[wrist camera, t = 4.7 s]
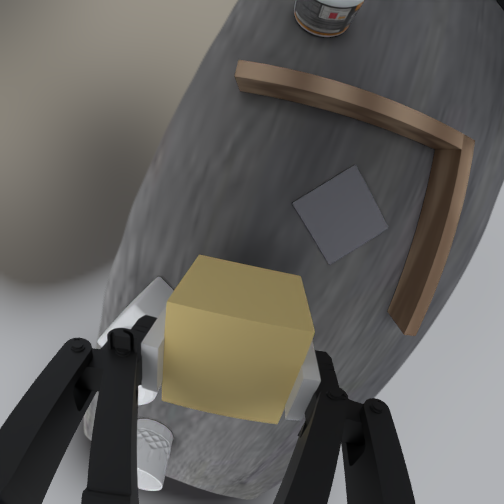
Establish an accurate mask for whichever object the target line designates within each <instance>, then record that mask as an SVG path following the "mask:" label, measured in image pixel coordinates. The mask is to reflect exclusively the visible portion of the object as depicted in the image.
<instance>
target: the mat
mask: <svg viewBox="0 0 504 504" xmlns="http://www.w3.org/2000/svg"><path fill="white" fill-rule="evenodd" d="M292 204H293V206H294V207H295V209H296V211H297V212H298V214H299V215H300V217H301V219H302V220H303V222H304V223H305V225H306V227H307V228H308V230H309V232H310V233H311V235H312V237H313V238H314V240H315V242H316V243H317V245H318V247H319V248H320V250H321V252H322V254H323V255H324V257H325V259H326V260H327V262H328V264H329V265H330V264H332V263H334V262H335V261H337V260H339V259H340V258H342V257H344V256H345V255H347V254H348V253H350V252H352V251H353V250H355V249H357V248H358V247H360V246H361V245H363V244H365V243H366V242H368V241H369V240H371V239H372V238H374V237H376V236H377V235H379V234H380V233H382V232H383V231H385V230H387V229H388V226H387V224H386V222H385V219H384V217H383V215H382V213H381V211H380V209H379V207H378V205H377V203H376V201H375V199H374V197H373V196H372V194H371V192H370V190H369V188H368V186H367V184H366V182H365V180H364V179H363V177H362V175H361V173H360V171H359V170H358V168H357V166H356V165H353V166H352V167H350V168H349V169H347V170H345V171H344V172H342V173H340V174H339V175H337V176H335V177H334V178H332V179H330V180H329V181H327V182H325V183H324V184H322V185H320V186H319V187H317V188H316V189H314V190H312V191H311V192H309V193H307V194H306V195H304V196H302V197H301V198H299V199H298V200H296V201H294V202H293V203H292Z"/></svg>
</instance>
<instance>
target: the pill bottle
mask: <svg viewBox="0 0 504 504" xmlns="http://www.w3.org/2000/svg"><path fill="white" fill-rule="evenodd" d="M364 1H365V0H295V6H294V15H295V18H296V20H297V22H298V23H299V25H300V26H301V27H302V28H303V29H305V30H306V31H308V32H310V33H312V34H314V35H317V36H322V37H333V36H338V35H340V34H342V33H343V32H345V31H346V30H347V28H348V27H349V25H350V24H351V22H352V20H353V19H354V17H355V15H356V14H357V12H358V10H359V8H360V7H361V5H362V4H363V2H364Z"/></svg>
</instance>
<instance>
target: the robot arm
mask: <svg viewBox="0 0 504 504" xmlns="http://www.w3.org/2000/svg"><path fill="white" fill-rule="evenodd" d="M497 1H498V2H499V4H500V5H501V6H502V7H503V9H504V0H497ZM165 317H166V306H165V308H164V309H163V311H162V312H161V314H160V315H159V317H158V318H156V317H152V316H149V315H144V316H142V317H141V318H139V319H138V320H137V321H136V323H135V325H133V327H132V328H131V329H127V328H115V329H112V330H111V331H109V332H108V334H107V341H108V350H101V349H93V348H92V346H91V343H90V342H89V341H87V340H86V339H83V338H73V339H70V340H68V341H67V342H66V343H65V344H64V345H63V346H62V348H61V349H60V350H59V351H58V352H57V354H56V355H55V356H54V357H53V359H52V360H51V361H50V362H49V364H48V365H47V366H46V368H45V369H44V370H43V371H42V373H41V374H40V375H39V376H38V378H37V379H36V380H35V381H34V383H33V384H32V385H31V387H30V388H29V389H28V391H27V392H26V394H25V395H24V396H23V397H22V399H21V400H20V402H19V403H18V405H17V406H16V407H15V408H14V410H13V411H12V413H11V414H10V415H9V417H8V418H7V420H6V421H5V423H4V424H3V426H2V427H1V429H0V504H42V502H43V499H44V497H45V495H46V493H47V490H48V488H49V486H50V484H51V481H52V479H53V477H54V475H55V473H56V470H57V468H58V466H59V464H60V462H61V460H62V458H63V456H64V454H65V452H66V449H67V447H68V445H69V443H70V441H71V439H72V437H73V435H74V433H75V432H76V430H77V428H78V426H79V424H80V422H81V420H82V418H83V416H84V414H85V412H86V410H87V409H88V407H89V405H90V403H91V401H92V399H93V397H94V396H95V394H96V392H97V391H99V396H98V401H97V407H96V413H95V420H94V426H93V434H92V441H91V450H90V459H89V469H88V482H87V488H86V489H85V490H84V491H83V493H82V502H81V504H139V498H138V477H137V415H138V386H139V384H140V382H141V381H142V388H144V389H147V390H150V391H154V392H158V389H159V387H160V385H161V383H162V380H163V357H164V338H165V337H164V332H165ZM304 414H305V418H306V421H305V423H304V425H303V426H302V428H301V430H300V432H299V434H298V436H299V438H298V441H297V444H296V447H295V449H294V452H293V455H292V458H291V460H290V463H289V466H288V468H287V471H286V473H285V476H284V478H283V481H282V483H281V486H280V488H279V491H278V493H277V495H276V498H275V500H274V503H273V504H327V502H328V498H329V495H330V491H331V487H332V482H333V478H334V474H335V470H336V465H337V460H338V455H339V451H340V445H341V444H342V452H343V462H344V471H345V481H346V493H347V504H415V500H414V496H413V491H412V487H411V483H410V479H409V475H408V471H407V468H406V464H405V460H404V457H403V453H402V449H401V446H400V443H399V439H398V436H397V433H396V429H395V426H394V422H393V419H392V416H391V413H390V410H389V408H388V406H387V405H386V404H385V403H384V402H383V401H381V400H379V399H375V398H372V399H368V400H366V401H365V403H364V404H361V403H358V402H354V401H352V400H349V399H348V395H347V394H346V392H345V391H344V390H342V389H341V388H339V385H338V381H337V377H336V374H335V371H334V366H333V363H332V359H331V357H330V356H329V355H328V354H327V353H326V352H323V351H316V350H314V345H313V340H312V342H311V345H310V347H309V350H308V352H307V355H306V358H305V360H304V363H303V365H302V366H301V369H300V371H299V373H298V376H297V378H296V381H295V383H294V386H293V388H292V390H291V393H290V395H289V398H288V400H287V402H286V404H285V418H286V419H289V420H298V421H301V420H302V418H303V416H304Z"/></svg>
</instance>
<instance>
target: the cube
mask: <svg viewBox="0 0 504 504" xmlns="http://www.w3.org/2000/svg"><path fill="white" fill-rule="evenodd" d="M314 334H315V330H314V326H313V322H312V318H311V314H310V310H309V306H308V302H307V298H306V294H305V290H304V287H303V283H302V279H301V276H298V275H293V274H288V273H283V272H279V271H274V270H269V269H264V268H260V267H255V266H250V265H245V264H241V263H236V262H231V261H227V260H222V259H218V258H213V257H208V256H204V255H199V256H198V257H197V258H196V260H195V261H194V263H193V264H192V266H191V267H190V268H189V270H188V271H187V273H186V274H185V276H184V277H183V278H182V280H181V281H180V283H179V284H178V286H177V287H176V289H175V290H174V292H173V293H172V294H171V296H170V297H169V299H168V300H167V305H166V317H165V332H164V337H165V338H164V357H163V380H162V401H165V402H169V403H172V404H176V405H180V406H184V407H188V408H192V409H196V410H200V411H205V412H209V413H214V414H218V415H223V416H228V417H234V418H239V419H245V420H251V421H258V422H265V423H272V424H278V422H279V420H280V417H281V415H282V413H283V411H284V408H285V404H286V402H287V400H288V398H289V395H290V393H291V390H292V388H293V386H294V383H295V381H296V378H297V376H298V373H299V371H300V369H301V366H302V365H303V363H304V360H305V358H306V355H307V352H308V350H309V347H310V345H311V342H312V339H313V337H314Z"/></svg>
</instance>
